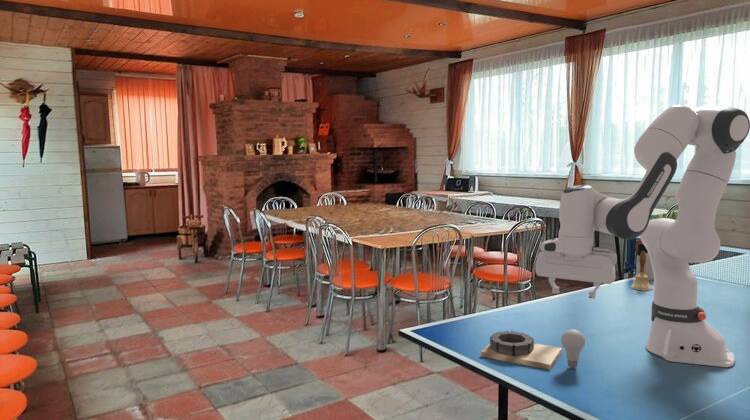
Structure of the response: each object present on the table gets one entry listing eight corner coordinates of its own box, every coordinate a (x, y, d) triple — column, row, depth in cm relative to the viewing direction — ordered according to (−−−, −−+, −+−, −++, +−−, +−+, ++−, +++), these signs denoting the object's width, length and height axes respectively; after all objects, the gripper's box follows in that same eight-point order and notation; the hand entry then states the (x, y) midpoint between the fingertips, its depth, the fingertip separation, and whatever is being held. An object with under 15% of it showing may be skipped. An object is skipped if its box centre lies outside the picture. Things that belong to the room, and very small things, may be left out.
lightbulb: (573, 374, 145) (574, 335, 144) (555, 366, 150) (556, 328, 149) (589, 369, 148) (590, 331, 147) (571, 362, 153) (572, 324, 152)
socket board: (561, 352, 160) (562, 338, 160) (550, 369, 148) (550, 354, 148) (496, 341, 171) (496, 327, 170) (480, 356, 159) (481, 341, 158)
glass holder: (638, 279, 244) (639, 247, 242) (628, 272, 257) (630, 241, 256) (659, 280, 242) (660, 247, 240) (648, 273, 256) (649, 241, 254)
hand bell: (628, 285, 234) (629, 249, 232) (648, 285, 233) (649, 249, 231) (634, 290, 226) (635, 253, 224) (655, 291, 225) (657, 253, 223)
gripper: (619, 247, 142) (616, 298, 144) (540, 240, 153) (539, 288, 155) (615, 251, 137) (613, 303, 139) (534, 244, 148) (533, 293, 149)
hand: (573, 295), depth 147 cm, fingers open, 8 cm apart
